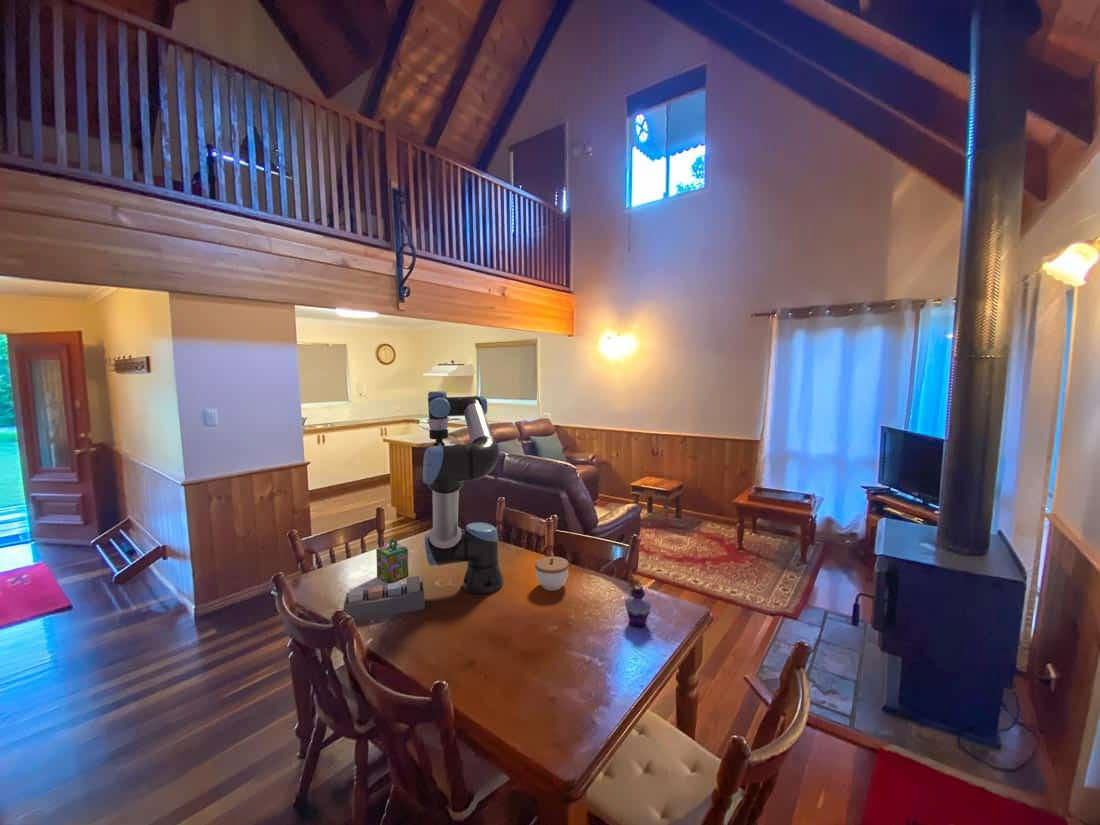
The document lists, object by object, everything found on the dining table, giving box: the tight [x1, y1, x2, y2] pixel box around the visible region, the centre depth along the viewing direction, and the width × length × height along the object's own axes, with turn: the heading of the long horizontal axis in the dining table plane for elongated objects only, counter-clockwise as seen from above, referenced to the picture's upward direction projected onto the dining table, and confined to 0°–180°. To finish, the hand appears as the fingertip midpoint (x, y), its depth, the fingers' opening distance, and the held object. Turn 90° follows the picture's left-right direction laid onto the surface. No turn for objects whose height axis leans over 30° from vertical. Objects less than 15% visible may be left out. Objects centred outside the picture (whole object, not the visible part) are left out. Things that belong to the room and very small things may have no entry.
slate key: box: [387, 581, 402, 597], centre depth 158 cm, size 4×4×5 cm
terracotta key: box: [367, 584, 384, 600], centre depth 157 cm, size 4×4×5 cm
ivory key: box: [348, 587, 364, 603], centre depth 155 cm, size 4×4×5 cm
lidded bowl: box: [534, 556, 570, 592], centre depth 172 cm, size 13×13×11 cm
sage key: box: [405, 575, 421, 594], centre depth 160 cm, size 4×4×5 cm
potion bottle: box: [624, 585, 652, 629], centre depth 146 cm, size 9×9×12 cm
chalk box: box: [376, 538, 410, 584], centre depth 182 cm, size 9×9×15 cm
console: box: [343, 580, 426, 622], centre depth 158 cm, size 25×10×6 cm, turn 108°
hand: (440, 485), depth 190 cm, fingers closed
